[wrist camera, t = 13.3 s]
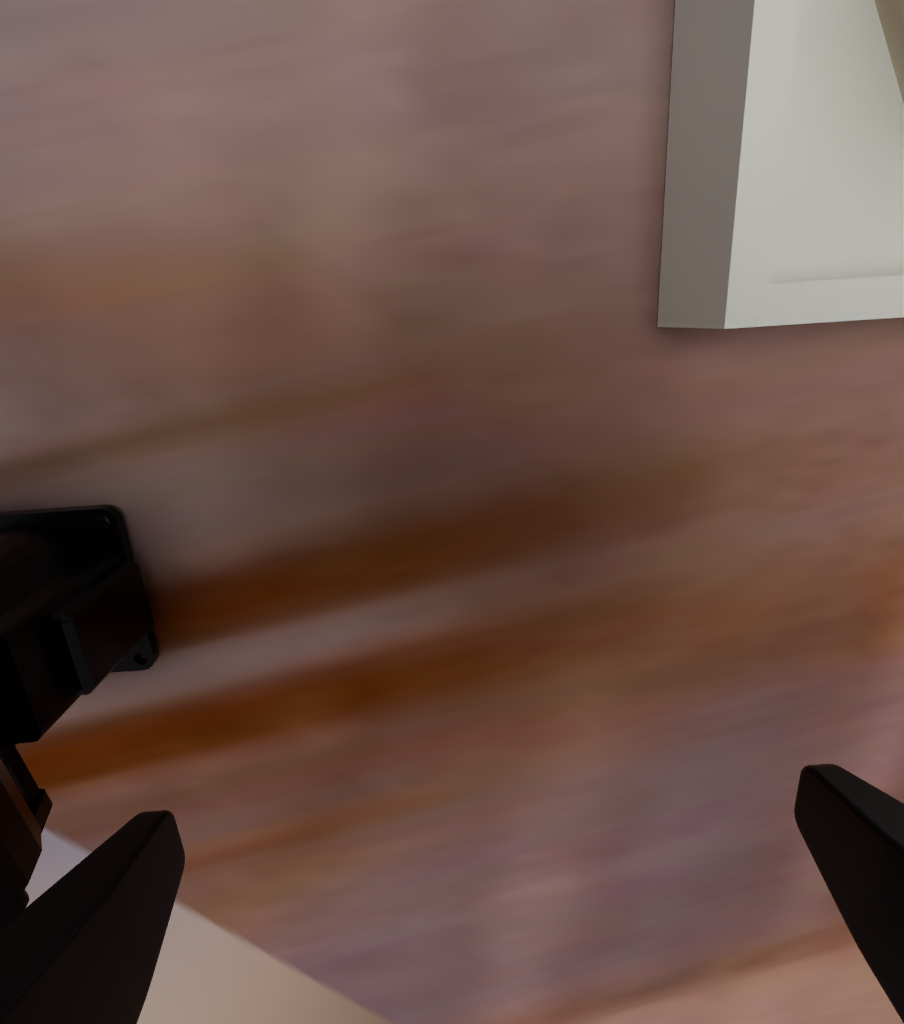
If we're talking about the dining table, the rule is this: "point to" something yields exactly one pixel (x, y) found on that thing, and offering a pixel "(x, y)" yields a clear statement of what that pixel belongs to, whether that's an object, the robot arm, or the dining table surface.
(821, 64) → the box
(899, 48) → the birch block
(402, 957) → the dining table surface
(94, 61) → the dining table surface
